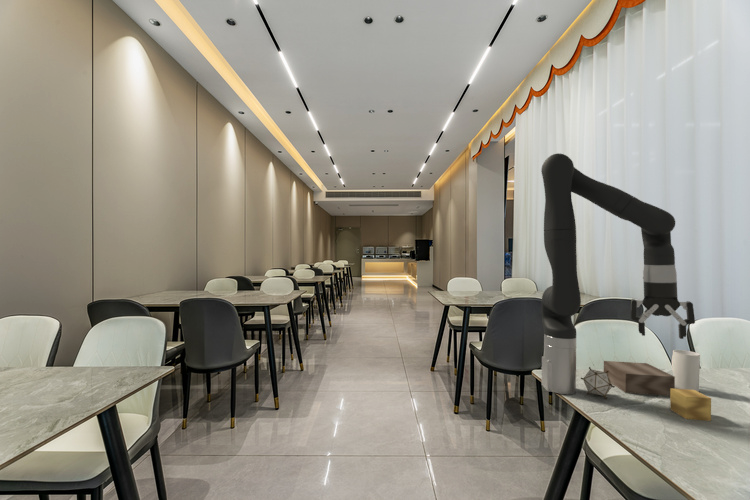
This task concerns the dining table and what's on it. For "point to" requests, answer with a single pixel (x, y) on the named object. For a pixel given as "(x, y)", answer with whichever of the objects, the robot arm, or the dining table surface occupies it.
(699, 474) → the dining table surface
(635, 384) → the riser
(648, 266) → the robot arm
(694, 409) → the ochre block
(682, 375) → the mug
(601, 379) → the game die
